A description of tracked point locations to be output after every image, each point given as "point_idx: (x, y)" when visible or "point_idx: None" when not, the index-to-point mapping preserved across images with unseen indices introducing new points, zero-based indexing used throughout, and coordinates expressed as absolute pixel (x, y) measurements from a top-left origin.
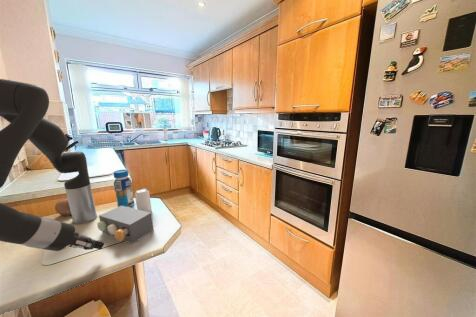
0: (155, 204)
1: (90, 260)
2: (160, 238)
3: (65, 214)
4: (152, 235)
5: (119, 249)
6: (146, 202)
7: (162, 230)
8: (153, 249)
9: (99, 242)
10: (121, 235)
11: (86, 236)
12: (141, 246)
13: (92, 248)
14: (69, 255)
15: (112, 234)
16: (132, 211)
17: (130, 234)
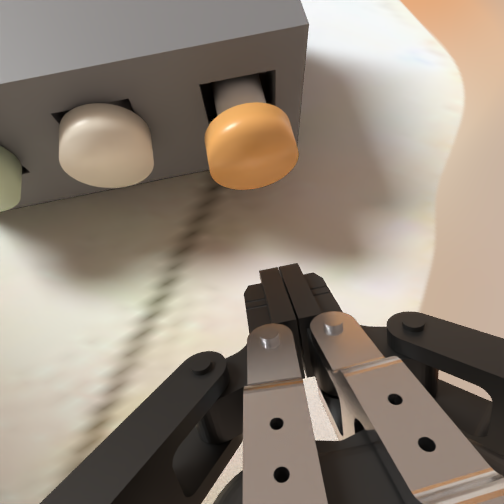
0: None
1: None
2: (386, 52)
3: None
4: (316, 62)
5: (286, 222)
6: None
7: (317, 16)
8: (460, 113)
9: (310, 291)
10: (294, 141)
11: (395, 408)
12: (372, 137)
13: (455, 391)
14: (31, 460)
15: (135, 181)
16: None
17: (288, 108)
